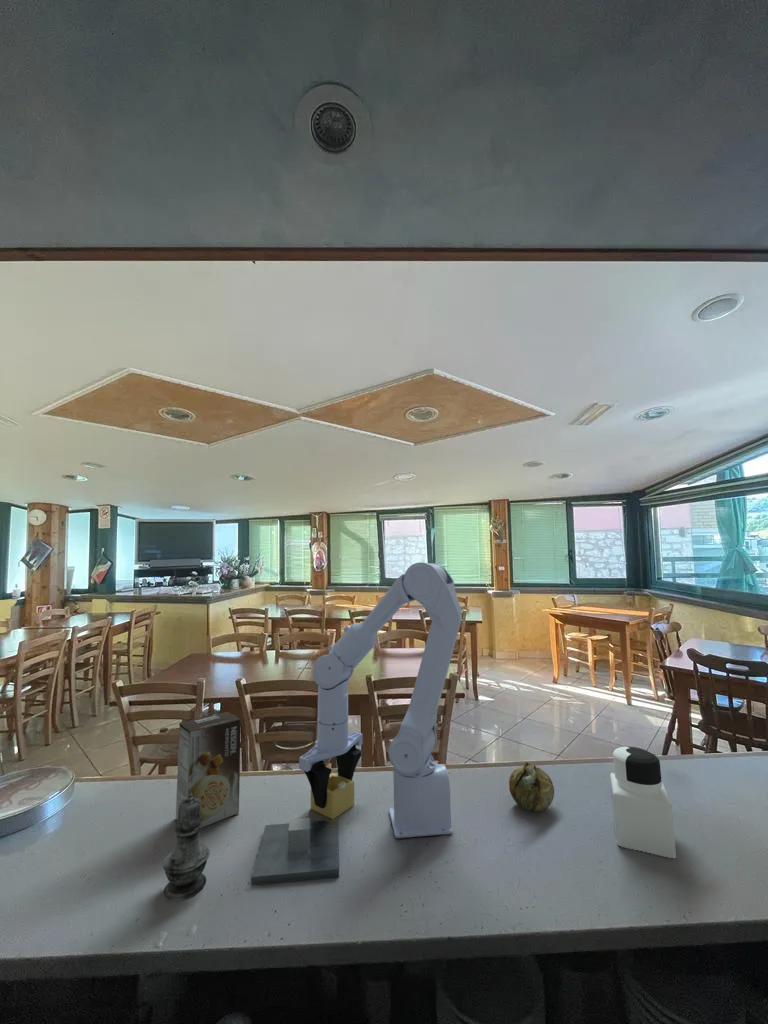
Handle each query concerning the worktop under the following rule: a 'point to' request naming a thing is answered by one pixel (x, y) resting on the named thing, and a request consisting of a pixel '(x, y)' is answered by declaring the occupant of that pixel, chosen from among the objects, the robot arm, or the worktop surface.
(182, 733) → the coffee box
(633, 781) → the container
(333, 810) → the yellow square planter
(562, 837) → the worktop surface
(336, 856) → the grey square base plate
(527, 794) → the onion
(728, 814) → the worktop surface
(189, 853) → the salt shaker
